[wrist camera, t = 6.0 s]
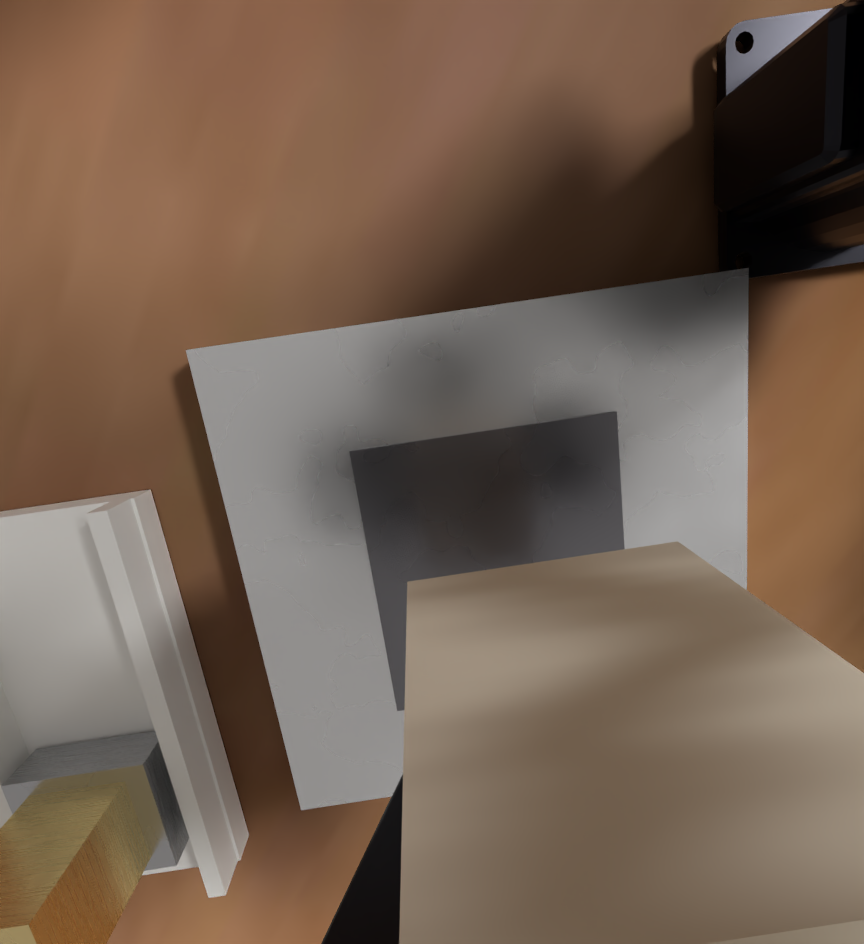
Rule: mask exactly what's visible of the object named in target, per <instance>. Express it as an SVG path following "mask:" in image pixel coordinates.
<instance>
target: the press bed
mask: <svg viewBox="0 0 864 944" xmlns="http://www.w3.org/2000/svg"><path fill="white" fill-rule="evenodd" d="M748 293H749V268H744V269H737V270H730V271H724V272H717V273H710V274H703V275H696V276H689V277H683V278H676V279H669V280H662V281H655V282H648V283H641V284H635V285H628V286H621V287H614V288H607V289H600V290H594V291H587V292H580V293H573V294H566V295H559V296H552V297H546V298H539V299H532V300H525V301H518V302H511V303H505V304H498V305H491V306H484V307H477V308H470V309H463V310H457V311H450V312H443V313H436V314H429V315H422V316H416V317H409V318H402V319H395V320H388V321H381V322H374V323H368V324H361V325H354V326H347V327H340V328H333V329H327V330H320V331H313V332H306V333H299V334H292V335H285V336H279V337H272V338H265V339H258V340H251V341H244V342H238V343H231V344H224V345H217V346H210V347H203V348H196V349H190V350H186V353H187V357H188V361H189V365H190V369H191V373H192V377H193V381H194V385H195V389H196V393H197V397H198V401H199V405H200V409H201V413H202V417H203V421H204V425H205V429H206V433H207V437H208V441H209V445H210V449H211V453H212V457H213V461H214V465H215V469H216V473H217V477H218V481H219V485H220V489H221V493H222V497H223V501H224V505H225V509H226V513H227V517H228V521H229V525H230V529H231V533H232V537H233V541H234V545H235V549H236V553H237V557H238V561H239V565H240V569H241V573H242V577H243V580H244V584H245V588H246V592H247V596H248V600H249V604H250V608H251V612H252V616H253V620H254V624H255V628H256V632H257V636H258V640H259V644H260V648H261V652H262V656H263V660H264V664H265V668H266V672H267V676H268V680H269V684H270V688H271V692H272V696H273V700H274V704H275V708H276V712H277V716H278V720H279V724H280V728H281V732H282V736H283V740H284V744H285V748H286V752H287V756H288V760H289V764H290V768H291V772H292V776H293V780H294V784H295V788H296V792H297V796H298V800H299V804H300V808H301V810H306V809H313V808H319V807H326V806H332V805H339V804H345V803H352V802H358V801H365V800H372V799H378V798H385V797H391V796H392V795H393V793H394V791H395V789H396V787H397V785H398V782H399V780H400V778H401V776H402V774H403V754H404V709H405V664H406V620H407V582H409V581H416V580H422V579H429V578H436V577H442V576H449V575H456V574H462V573H469V572H476V571H483V570H489V569H496V568H503V567H509V566H516V565H523V564H529V563H536V562H543V561H550V560H556V559H563V558H570V557H576V556H583V555H590V554H596V553H603V552H610V551H617V550H623V549H630V548H637V547H643V546H650V545H657V544H663V543H670V542H677V541H678V542H679V543H681V544H682V545H684V546H685V547H686V548H688V549H689V550H691V551H692V552H694V553H695V554H696V555H698V556H699V557H701V558H702V559H703V560H705V561H706V562H708V563H709V564H710V565H712V566H713V567H715V568H716V569H717V570H719V571H720V572H722V573H723V574H725V575H726V576H727V577H729V578H730V579H732V580H733V581H734V582H736V583H737V584H739V585H740V586H741V587H743V588H744V589H746V590H747V464H748Z"/></svg>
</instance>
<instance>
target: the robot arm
mask: <svg viewBox="0 0 864 944" xmlns="http://www.w3.org/2000/svg"><path fill="white" fill-rule="evenodd" d="M735 41H740V42H741V43H742V44H743V47H744V54H742V53H739V52H738V51H737V50H736V47H735ZM714 203H715V205H716V207H717V208H718V256H719V271H720V272H724V271H730V270H737V269H738V268H737V267H736V265H735V260H736V257H737V256H738V255H740V256H741V257H742V258H743V266H742V268H741V269H744V268H749V279H752V278H759V277H766V276H773V275H780V274H786V273H793V272H800V271H807V270H814V269H821V268H827V267H834V266H841V265H848V264H855V263H862V262H864V0H846V1H845V2H844V3H843V4H839V5H837V6H835V7H834V8H830V9H823V10H816V11H809V12H802V13H795V14H788V15H781V16H774V17H767V18H760V19H753V20H746V21H742V22H740V23H737V24H736V25H735V26H734V27H733V28H732V29H731V30H730V31H729V32H728V33H727V34H726V35H725V36H724V37H723V38H722V40H721V42H720V44H719V45H718V51H717V107H716V108H715V110H714ZM402 798H403V774H402V776H401V778H400V780H399V782H398V785H397V787H396V789H395V791H394V793H393V795H392V797H391V799H390V801H389V803H388V805H387V807H386V810H385V812H384V814H383V816H382V818H381V820H380V822H379V824H378V826H377V828H376V830H375V833H374V835H373V837H372V839H371V841H370V843H369V845H368V847H367V849H366V851H365V853H364V855H363V858H362V860H361V862H360V864H359V866H358V868H357V870H356V872H355V874H354V876H353V878H352V881H351V883H350V885H349V887H348V889H347V891H346V893H345V895H344V897H343V899H342V901H341V903H340V906H339V908H338V910H337V912H336V914H335V916H334V918H333V920H332V922H331V924H330V926H329V929H328V931H327V933H326V935H325V937H324V939H323V941H322V943H321V944H399V933H400V888H401V843H402Z"/></svg>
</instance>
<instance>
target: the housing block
mask: <svg viewBox="0 0 864 944" xmlns="http://www.w3.org/2000/svg"><path fill="white" fill-rule="evenodd" d="M399 944H864V673H863V672H861V671H860V670H858V669H857V668H856V667H854V666H853V665H851V664H850V663H849V662H847V661H846V660H844V659H843V658H842V657H840V656H839V655H837V654H836V653H835V652H833V651H832V650H830V649H829V648H827V647H826V646H825V645H823V644H822V643H820V642H819V641H818V640H816V639H815V638H813V637H812V636H811V635H809V634H808V633H806V632H805V631H803V630H802V629H801V628H799V627H798V626H796V625H795V624H794V623H792V622H791V621H789V620H788V619H787V618H785V617H784V616H782V615H781V614H780V613H778V612H777V611H775V610H774V609H772V608H771V607H770V606H768V605H767V604H765V603H764V602H763V601H761V600H760V599H758V598H757V597H756V596H754V595H753V594H751V593H750V592H749V591H747V590H746V589H744V588H743V587H741V586H740V585H739V584H737V583H736V582H734V581H733V580H732V579H730V578H729V577H727V576H726V575H725V574H723V573H722V572H720V571H719V570H717V569H716V568H715V567H713V566H712V565H710V564H709V563H708V562H706V561H705V560H703V559H702V558H701V557H699V556H698V555H696V554H695V553H694V552H692V551H691V550H689V549H688V548H686V547H685V546H684V545H682V544H681V543H679V542H678V541H677V542H670V543H663V544H657V545H650V546H643V547H637V548H630V549H623V550H617V551H610V552H603V553H596V554H590V555H583V556H576V557H570V558H563V559H556V560H550V561H543V562H536V563H529V564H523V565H516V566H509V567H503V568H496V569H489V570H483V571H476V572H469V573H462V574H456V575H449V576H442V577H436V578H429V579H422V580H416V581H409V582H407V620H406V664H405V709H404V754H403V798H402V843H401V888H400V933H399Z"/></svg>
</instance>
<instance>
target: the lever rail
mask: <svg viewBox="0 0 864 944" xmlns="http://www.w3.org/2000/svg"><path fill="white" fill-rule="evenodd" d="M150 731H155V732H156V735H157V738H158V742H159V745H160V748H161V751H162V754H163V757H164V760H165V763H166V767H167V770H168V773H169V776H170V779H171V782H172V785H173V788H174V792H175V795H176V798H177V801H178V804H179V807H180V810H181V813H182V816H183V820H184V823H185V826H186V829H187V832H188V835H189V840H188V842H187V844H186V847H185V849H184V851H183V853H182V855H181V857H180V860H179V862H178V864H177V866H173V867H166V868H160V869H153V870H147V871H144V872H143V874H142V875H148V874H154V873H161V872H168V871H174V870H181V869H187V868H194V867H199V870H200V873H201V876H202V879H203V882H204V885H205V888H206V891H207V894H208V898H211V897H218V896H224V895H226V893H227V891H228V888H229V885H230V882H231V879H232V876H233V873H234V870H235V867H236V864H237V861H239V860H241V857H242V854H243V851H244V848H245V845H246V842H247V839H248V837H249V833H248V829H247V826H246V822H245V819H244V815H243V812H242V808H241V805H240V801H239V798H238V794H237V791H236V787H235V784H234V780H233V777H232V773H231V770H230V766H229V763H228V759H227V756H226V752H225V749H224V745H223V742H222V738H221V735H220V731H219V728H218V724H217V721H216V717H215V713H214V710H213V706H212V703H211V699H210V696H209V692H208V689H207V685H206V682H205V678H204V675H203V671H202V668H201V664H200V661H199V657H198V654H197V650H196V647H195V643H194V640H193V636H192V633H191V629H190V626H189V622H188V619H187V615H186V612H185V608H184V605H183V601H182V598H181V594H180V591H179V587H178V584H177V580H176V577H175V573H174V570H173V566H172V563H171V559H170V556H169V552H168V549H167V545H166V542H165V538H164V535H163V531H162V527H161V524H160V520H159V517H158V513H157V510H156V506H155V503H154V499H153V496H152V492H151V489H150V490H143V491H136V492H129V493H123V494H116V495H109V496H102V497H96V498H89V499H82V500H75V501H69V502H62V503H55V504H48V505H41V506H35V507H28V508H21V509H14V510H8V511H1V512H0V828H1V827H2V826H3V825H4V824H5V823H6V822H7V820H8V819H9V818H10V817H11V816H12V815H13V814H12V812H11V810H10V807H9V805H8V803H7V800H6V798H5V795H4V793H3V791H2V788H1V785H2V784H3V783H4V782H5V781H6V780H7V779H8V778H9V777H10V776H11V775H12V774H13V773H14V772H15V771H16V770H17V769H18V768H19V766H20V765H21V764H22V763H23V762H24V761H25V760H26V759H27V758H28V757H29V756H30V755H31V754H32V753H33V752H34V751H35V750H36V749H38V748H44V747H51V746H58V745H64V744H71V743H77V742H84V741H91V740H97V739H104V738H111V737H117V736H124V735H130V734H137V733H144V732H150Z"/></svg>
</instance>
